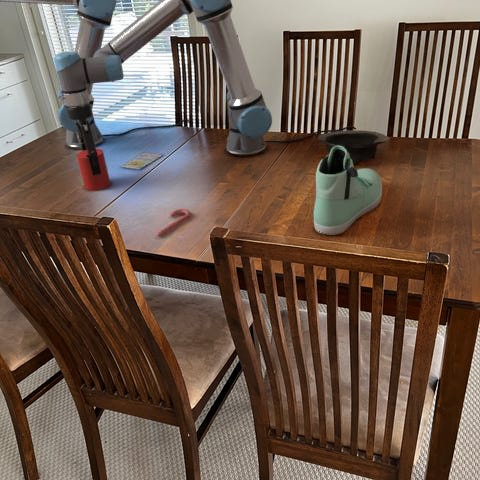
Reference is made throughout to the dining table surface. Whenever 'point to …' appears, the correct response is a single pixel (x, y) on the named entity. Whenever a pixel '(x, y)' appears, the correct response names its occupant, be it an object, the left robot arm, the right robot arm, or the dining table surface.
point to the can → (91, 180)
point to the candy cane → (177, 222)
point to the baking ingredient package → (141, 161)
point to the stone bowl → (354, 143)
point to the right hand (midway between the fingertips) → (93, 167)
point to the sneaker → (343, 192)
